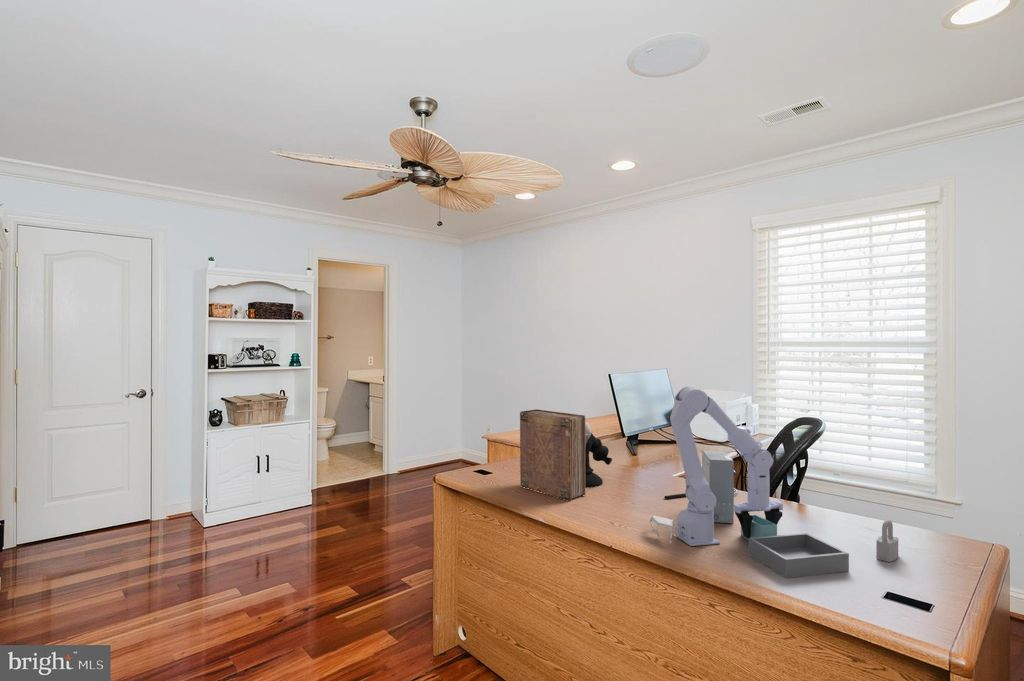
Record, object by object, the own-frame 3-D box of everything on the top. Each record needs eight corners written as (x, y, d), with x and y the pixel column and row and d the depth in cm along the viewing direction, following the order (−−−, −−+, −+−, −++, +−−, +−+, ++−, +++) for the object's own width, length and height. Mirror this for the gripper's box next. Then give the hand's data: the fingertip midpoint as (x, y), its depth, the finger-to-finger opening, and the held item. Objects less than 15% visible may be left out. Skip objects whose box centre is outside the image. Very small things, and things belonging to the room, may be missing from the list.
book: (586, 496, 192) (585, 415, 192) (570, 501, 186) (570, 418, 186) (536, 482, 211) (535, 409, 211) (520, 487, 204) (519, 411, 204)
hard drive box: (734, 524, 163) (734, 461, 163) (708, 522, 164) (708, 460, 164) (724, 508, 178) (724, 450, 178) (701, 507, 179) (700, 449, 179)
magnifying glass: (654, 495, 195) (654, 490, 195) (719, 487, 206) (719, 482, 206) (677, 506, 182) (677, 500, 182) (745, 496, 193) (745, 491, 193)
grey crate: (785, 578, 126) (785, 559, 126) (748, 554, 140) (748, 538, 140) (848, 571, 130) (848, 553, 130) (806, 549, 143) (806, 532, 143)
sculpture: (557, 481, 212) (557, 420, 212) (595, 472, 227) (595, 415, 227) (585, 489, 201) (585, 425, 201) (623, 479, 216) (623, 419, 216)
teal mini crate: (761, 547, 144) (761, 526, 144) (740, 535, 153) (740, 515, 153) (777, 546, 145) (777, 524, 145) (755, 534, 154) (755, 514, 154)
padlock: (883, 551, 142) (883, 515, 142) (901, 556, 138) (901, 519, 138) (873, 558, 137) (873, 520, 137) (891, 563, 134) (891, 525, 134)
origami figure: (688, 539, 151) (688, 522, 151) (669, 545, 146) (669, 528, 146) (656, 527, 161) (656, 511, 161) (637, 532, 156) (637, 516, 156)
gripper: (744, 494, 144) (745, 543, 144) (790, 491, 147) (790, 539, 147) (729, 487, 151) (729, 533, 151) (773, 484, 154) (773, 530, 154)
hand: (758, 535), depth 149 cm, fingers open, 7 cm apart
